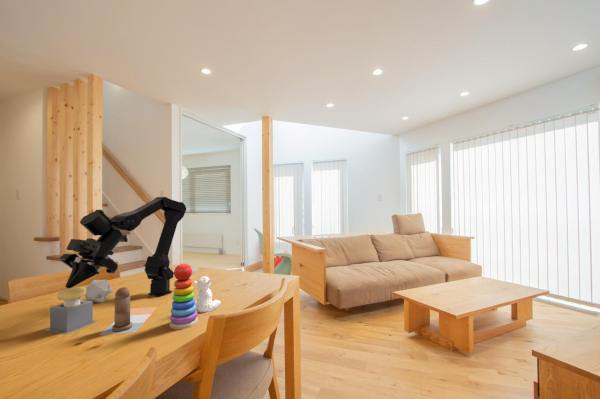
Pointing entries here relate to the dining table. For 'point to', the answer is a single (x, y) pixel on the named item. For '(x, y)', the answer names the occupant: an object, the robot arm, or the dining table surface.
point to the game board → (133, 320)
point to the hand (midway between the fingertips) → (67, 287)
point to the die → (98, 291)
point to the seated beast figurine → (205, 296)
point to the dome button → (71, 296)
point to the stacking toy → (183, 299)
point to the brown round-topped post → (122, 310)
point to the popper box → (70, 317)
